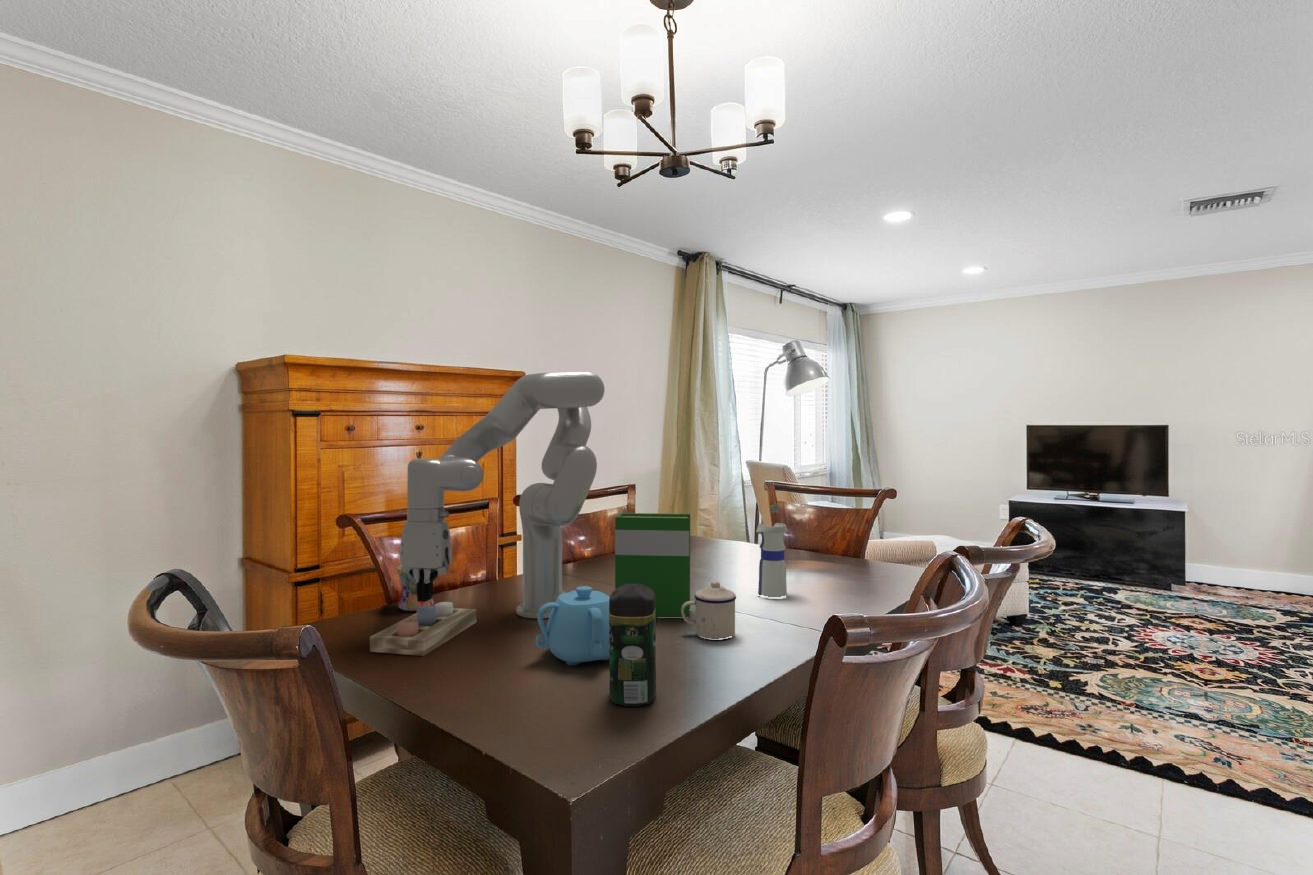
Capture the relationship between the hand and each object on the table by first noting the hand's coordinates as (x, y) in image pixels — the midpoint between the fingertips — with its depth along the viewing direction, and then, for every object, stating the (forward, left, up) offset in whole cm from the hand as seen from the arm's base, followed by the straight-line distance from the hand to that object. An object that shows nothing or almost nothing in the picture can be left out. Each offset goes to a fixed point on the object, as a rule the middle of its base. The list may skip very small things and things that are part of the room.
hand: (424, 600), depth 137 cm
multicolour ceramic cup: (+14, -20, -8) cm, 26 cm away
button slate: (0, 0, -6) cm, 6 cm away
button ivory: (0, -7, -7) cm, 10 cm away
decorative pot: (-37, +4, -8) cm, 38 cm away
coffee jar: (-51, +21, -8) cm, 56 cm away
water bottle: (-73, -48, -8) cm, 88 cm away
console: (0, 0, -8) cm, 8 cm away
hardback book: (-45, -26, -8) cm, 53 cm away
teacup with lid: (-60, -13, -8) cm, 62 cm away
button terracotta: (0, +7, -7) cm, 9 cm away
